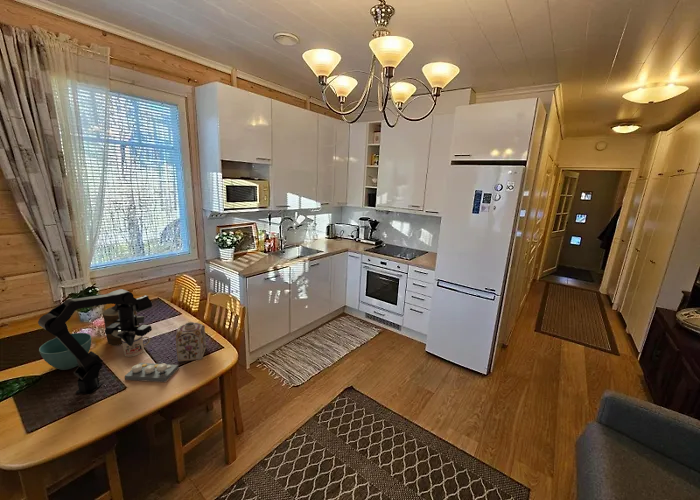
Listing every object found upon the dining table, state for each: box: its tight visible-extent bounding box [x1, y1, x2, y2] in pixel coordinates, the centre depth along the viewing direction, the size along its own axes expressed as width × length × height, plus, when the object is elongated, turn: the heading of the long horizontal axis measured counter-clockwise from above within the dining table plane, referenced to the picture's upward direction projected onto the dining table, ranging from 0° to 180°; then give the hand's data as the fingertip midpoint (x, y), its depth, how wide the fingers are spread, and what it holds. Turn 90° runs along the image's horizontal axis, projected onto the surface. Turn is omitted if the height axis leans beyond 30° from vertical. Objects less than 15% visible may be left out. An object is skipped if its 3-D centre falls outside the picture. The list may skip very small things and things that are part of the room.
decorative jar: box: [175, 321, 207, 363], centre depth 156 cm, size 12×12×18 cm
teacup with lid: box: [121, 335, 151, 357], centre depth 157 cm, size 12×9×12 cm
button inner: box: [131, 363, 142, 373], centre depth 140 cm, size 4×4×4 cm
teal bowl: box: [38, 332, 92, 371], centre depth 144 cm, size 18×18×12 cm
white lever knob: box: [157, 362, 168, 374], centre depth 139 cm, size 4×4×4 cm
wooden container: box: [102, 304, 140, 346], centre depth 167 cm, size 15×15×22 cm
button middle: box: [144, 365, 155, 374], centre depth 140 cm, size 4×4×4 cm
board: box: [124, 362, 179, 383], centre depth 142 cm, size 10×19×2 cm, turn 88°
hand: (131, 345), depth 143 cm, fingers closed
